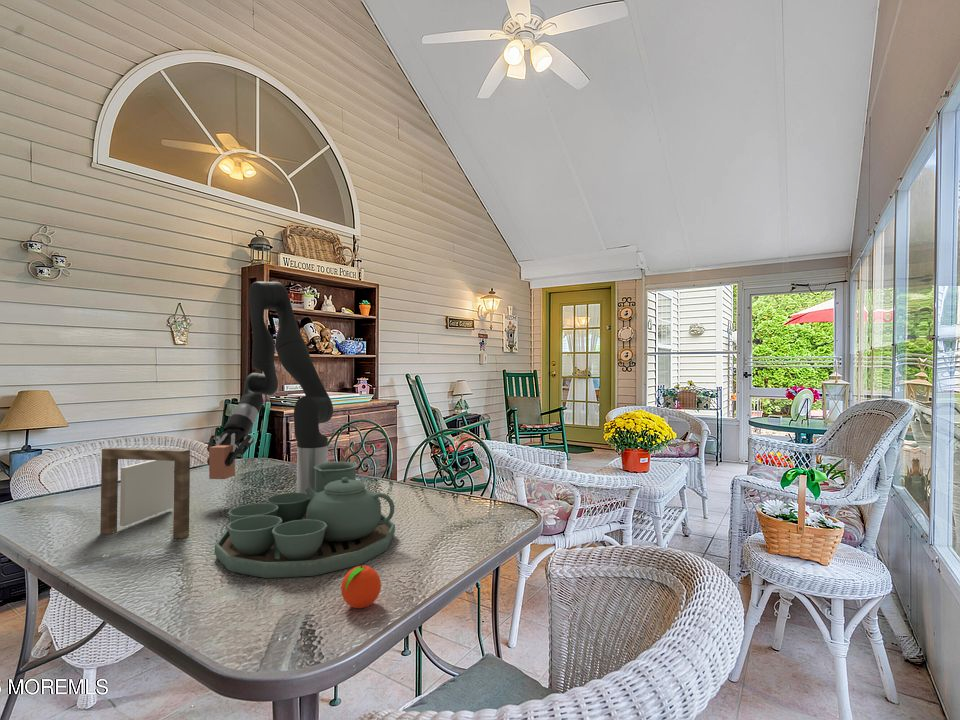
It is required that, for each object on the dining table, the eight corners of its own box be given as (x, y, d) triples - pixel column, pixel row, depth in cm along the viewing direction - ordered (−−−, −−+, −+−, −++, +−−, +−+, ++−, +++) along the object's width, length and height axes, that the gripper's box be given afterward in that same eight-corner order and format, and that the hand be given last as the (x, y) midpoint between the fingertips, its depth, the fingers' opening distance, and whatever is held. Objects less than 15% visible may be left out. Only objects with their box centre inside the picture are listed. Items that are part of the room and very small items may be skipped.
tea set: (225, 529, 130) (226, 466, 130) (379, 514, 145) (379, 457, 145) (201, 595, 93) (202, 506, 93) (411, 565, 108) (412, 488, 108)
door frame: (188, 535, 125) (190, 449, 125) (182, 538, 123) (183, 451, 123) (108, 530, 128) (109, 447, 128) (100, 534, 125) (101, 448, 126)
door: (165, 507, 146) (166, 455, 146) (173, 507, 146) (174, 456, 146) (115, 525, 129) (116, 467, 129) (124, 526, 128) (125, 467, 129)
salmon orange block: (235, 475, 154) (234, 444, 154) (224, 479, 149) (224, 447, 149) (220, 475, 155) (219, 444, 155) (209, 479, 150) (208, 447, 150)
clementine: (362, 622, 83) (362, 579, 83) (328, 614, 86) (328, 572, 86) (388, 601, 91) (388, 561, 91) (356, 594, 93) (356, 556, 93)
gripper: (216, 413, 161) (190, 457, 148) (257, 413, 159) (234, 457, 147) (226, 427, 166) (202, 471, 154) (267, 427, 164) (245, 472, 152)
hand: (218, 464), depth 150 cm, fingers closed on salmon orange block, 5 cm apart
